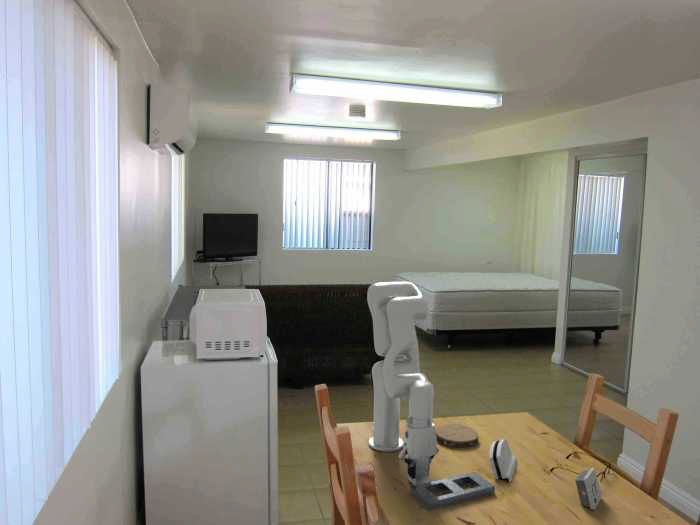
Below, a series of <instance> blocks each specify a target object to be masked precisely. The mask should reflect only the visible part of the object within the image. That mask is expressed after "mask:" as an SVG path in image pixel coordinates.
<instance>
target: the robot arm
mask: <svg viewBox="0 0 700 525" xmlns="http://www.w3.org/2000/svg"><path fill="white" fill-rule="evenodd" d="M366 300H367V304H368V308H369V311H370V314H371V318H372V327H373V328H372V330H373V344H374V350H375V353H376V354H377V355H378V356H380V357H384V360H380V361H377V362H375V363H374V364H373V366H372V367H371V375H372V376H371V377H372V384H373V427H372V428H371V432H372V437H370V438H369V440H368V445H369V447H370V448H371V449H372V450H373V449H374V450H376V451H378V452H390V453H391V452H396V451H399V450H401V449H402V450H401V452H400V454H399V455H398V458H399V459H400V460H401V461H402V462H405V464H407V475H408V477H409V476H410V477H411V478H412V479H414V478H415V467H414V462H415V459H419V458H424V457H429V470H428V477H429V476H430V468H431V467H430V465H431V464H432V460H433V459H434V458H435V456H436V455H437V454H438V453H439V452H440V449H439V447H438V445H437V443H438V442H437V439H436V426H435V423H433V418H434V417H433V416H434V415H433V414H434V388H435V387H434V384H433V383H431V382H430V381H429V379H428V378H427V376H426V375H425V374H424V373H421V370H420V367H421V366H420V354H419V353H420V352H419V341H418V337H417V330H416V327H415V322H419V321H420V322H421V321H425V320H427V319H428V317H429V314H430V313H429V311H430V308H429V304H428V302H427V299H426V297H425V296H424V294H423V293H422V292H421V290H420V289H419V288H418V287H417V285H416V284H414V282H411V281H385V282H384V281H382V282H376V283H373V284H371V285H370V286H369V287H368V289H367V297H366ZM397 356H398V357H399V356H403V358H401V359H399V358H398V359H396V358H397ZM405 398H406V399H408V415H407V418H406V419H405V424H406V426H405V429H404V430H405V431H404V435H403V439H401V438H400V422H401V421H400V420H401V419H400V418H401V415H400V413H401V399H405ZM406 455H407V456H406Z"/></svg>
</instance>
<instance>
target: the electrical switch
mask: <svg viewBox="0 0 700 525" xmlns="http://www.w3.org/2000/svg"><path fill="white" fill-rule="evenodd" d="M597 475H598V474H597V472H596V469H595V468H594V467H591V468H590V469H589V470H581V471H580V472H579V474H578V476H577V477H576V479H575V485H576V489H577V494H578V497H579V498H578V499H579V502H580V506H581V507H589V508H590V510H591V511H593V510H596V508H597V506H598V505H599V503H600V501H601V500H602V493H601V488H600V484H599V479H598V477H597Z"/></svg>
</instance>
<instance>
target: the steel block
mask: <svg viewBox="0 0 700 525" xmlns="http://www.w3.org/2000/svg"><path fill="white" fill-rule="evenodd" d="M414 467H415V478H414V479H412V478H411V477H410V476H409V475H408V482H410V483H411V484H412V486H415V485H420V484H424V483H428V482H429V476H428V470H429V471H430V469H429V457H424V458H419V459H415V462H414Z"/></svg>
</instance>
